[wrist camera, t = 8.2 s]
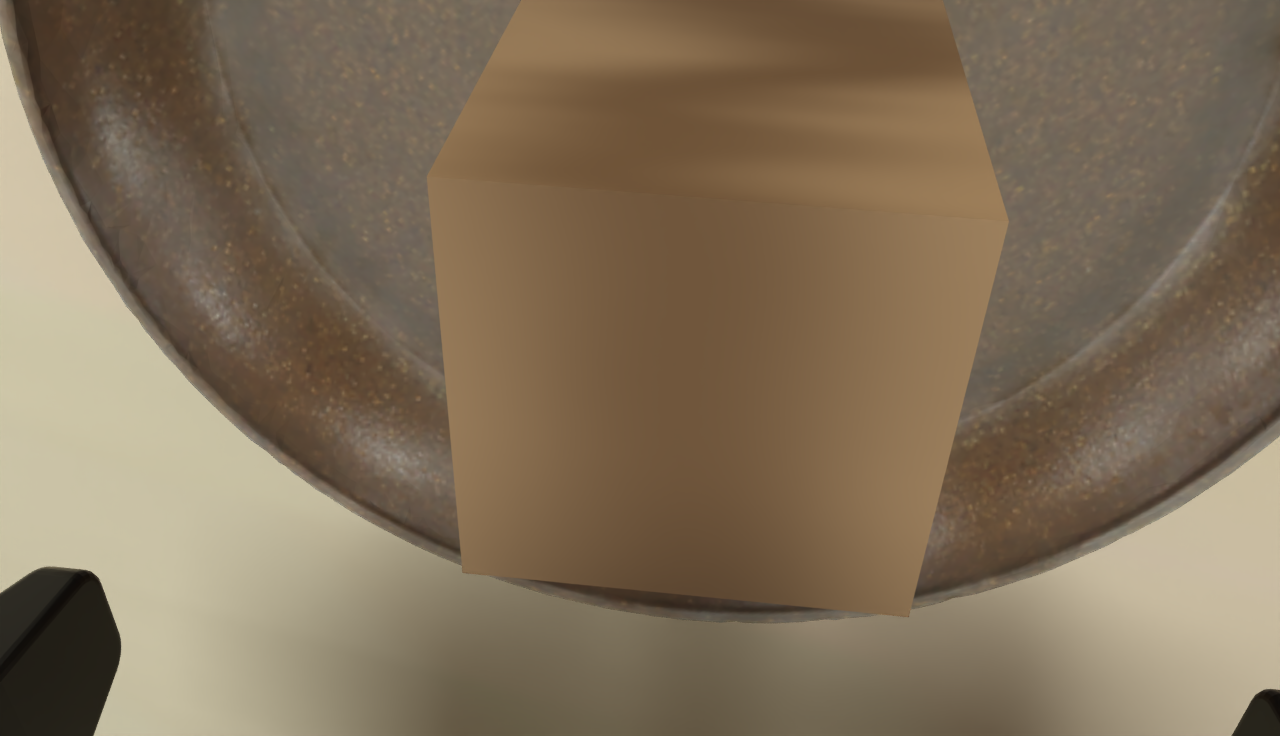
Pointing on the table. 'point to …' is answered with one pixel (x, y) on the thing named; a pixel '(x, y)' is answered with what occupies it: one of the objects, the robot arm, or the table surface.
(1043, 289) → the plant saucer
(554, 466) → the walnut block
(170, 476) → the table surface
